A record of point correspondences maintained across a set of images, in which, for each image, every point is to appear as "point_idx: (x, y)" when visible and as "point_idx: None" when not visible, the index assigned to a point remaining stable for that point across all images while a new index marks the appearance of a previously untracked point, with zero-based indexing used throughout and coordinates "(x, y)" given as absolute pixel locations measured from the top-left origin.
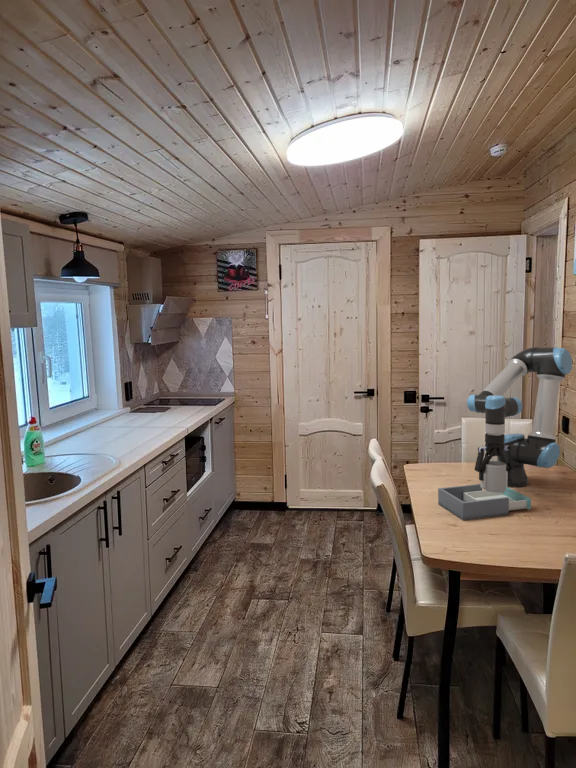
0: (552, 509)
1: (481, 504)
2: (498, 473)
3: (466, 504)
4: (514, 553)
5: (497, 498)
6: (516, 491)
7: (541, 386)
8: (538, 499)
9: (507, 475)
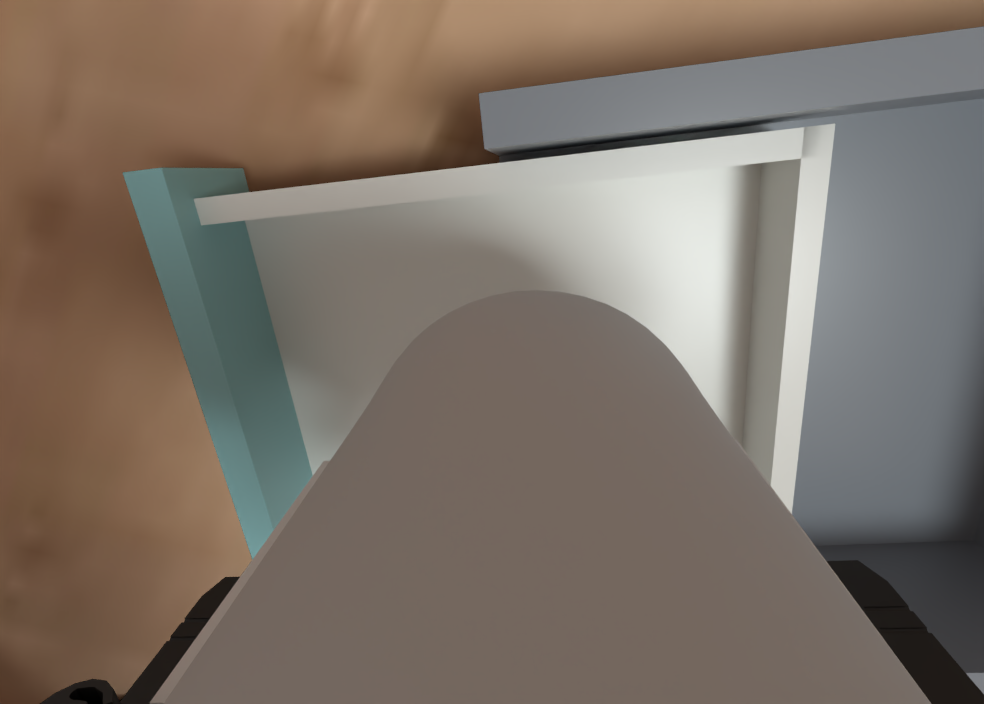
0: (6, 189)
1: None
2: (620, 489)
3: None
4: None
5: (675, 111)
6: (220, 458)
7: None
8: (65, 453)
9: (221, 605)
